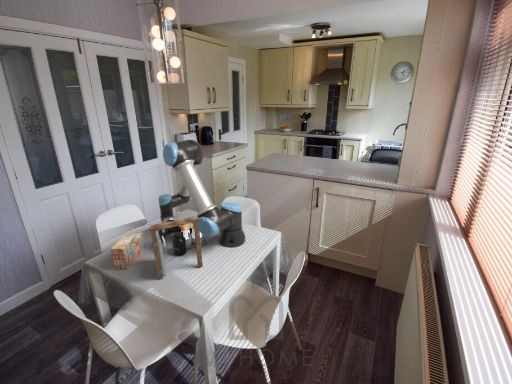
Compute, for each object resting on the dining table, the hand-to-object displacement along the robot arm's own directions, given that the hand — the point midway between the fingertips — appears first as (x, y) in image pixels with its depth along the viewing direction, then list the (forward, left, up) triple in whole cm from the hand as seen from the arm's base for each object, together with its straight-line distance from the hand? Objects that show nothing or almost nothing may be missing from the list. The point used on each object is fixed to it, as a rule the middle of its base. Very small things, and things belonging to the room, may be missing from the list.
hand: (177, 240), depth 144 cm
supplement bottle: (0, +1, -7) cm, 7 cm away
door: (+14, +7, -7) cm, 17 cm away
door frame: (+8, +17, -7) cm, 20 cm away
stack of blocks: (+21, -13, -7) cm, 26 cm away
